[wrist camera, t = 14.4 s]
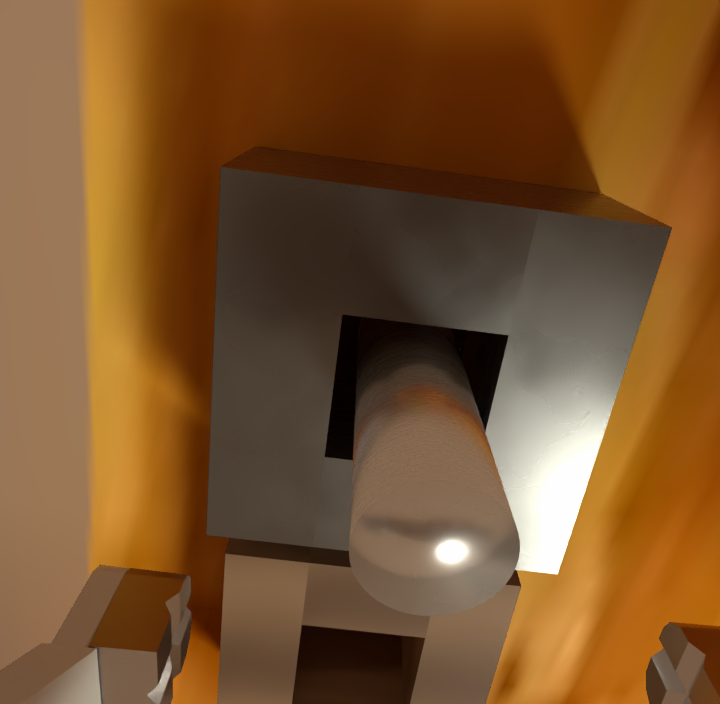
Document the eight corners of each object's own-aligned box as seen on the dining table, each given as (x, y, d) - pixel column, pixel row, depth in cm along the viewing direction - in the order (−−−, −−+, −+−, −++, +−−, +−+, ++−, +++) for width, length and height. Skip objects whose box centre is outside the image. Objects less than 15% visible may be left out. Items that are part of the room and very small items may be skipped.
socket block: (247, 482, 24) (225, 553, 21) (498, 511, 25) (521, 586, 21) (234, 664, 28) (214, 751, 25) (451, 686, 29) (463, 775, 25)
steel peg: (420, 272, 21) (468, 451, 11) (466, 347, 22) (549, 573, 12) (340, 320, 22) (315, 530, 12) (389, 390, 23) (405, 638, 13)
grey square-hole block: (255, 146, 19) (220, 167, 15) (601, 193, 20) (671, 227, 15) (237, 447, 24) (206, 535, 19) (521, 480, 24) (557, 574, 20)
